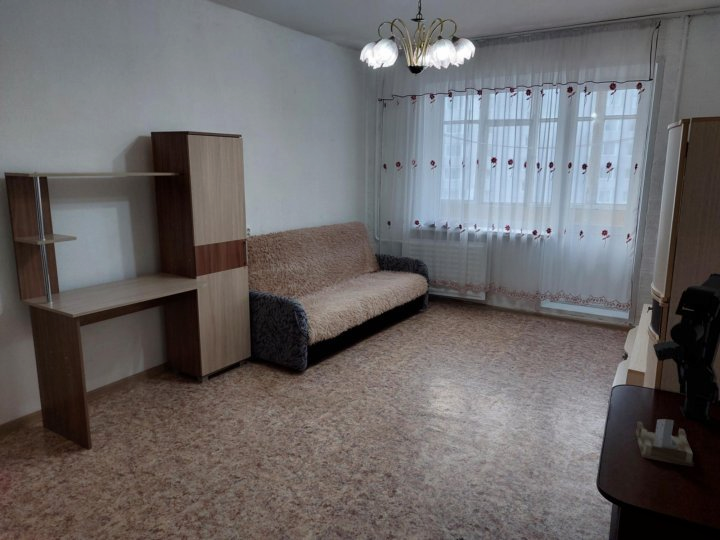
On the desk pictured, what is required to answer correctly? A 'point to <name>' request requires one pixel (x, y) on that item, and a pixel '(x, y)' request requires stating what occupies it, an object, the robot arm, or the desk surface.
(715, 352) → the robot arm
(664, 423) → the white wedge bracket
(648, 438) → the slotted track
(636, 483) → the desk surface
